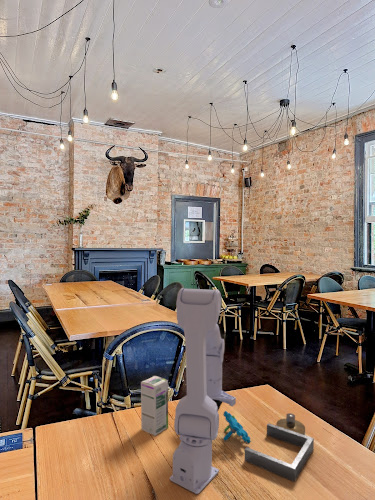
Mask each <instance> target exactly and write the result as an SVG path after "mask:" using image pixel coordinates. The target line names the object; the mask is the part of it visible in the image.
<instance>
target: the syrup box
mask: <svg viewBox="0 0 375 500" xmlns="http://www.w3.org/2000/svg"><path fill="white" fill-rule="evenodd" d="M168 381H169V380H168V379H166V378H163V377H160V376H157V375H152V377H150V378H148V379H145V380H142V381H140V410H141V412H140V413H141V415H140V416H141V424H140V425H141V427H140V428H141V430H142V431H144V432H146V433H147V434H150V435H152V436H154V437H156V436H157V435H158V434H160V433H162V432H163V431H165V430H167V429H168V428H169V386H168V385H169V382H168Z"/></svg>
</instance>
